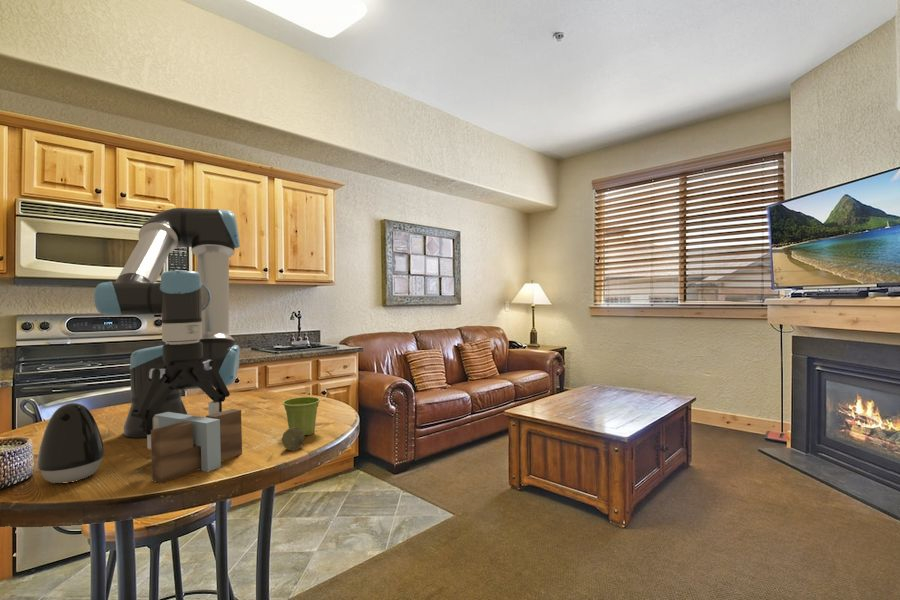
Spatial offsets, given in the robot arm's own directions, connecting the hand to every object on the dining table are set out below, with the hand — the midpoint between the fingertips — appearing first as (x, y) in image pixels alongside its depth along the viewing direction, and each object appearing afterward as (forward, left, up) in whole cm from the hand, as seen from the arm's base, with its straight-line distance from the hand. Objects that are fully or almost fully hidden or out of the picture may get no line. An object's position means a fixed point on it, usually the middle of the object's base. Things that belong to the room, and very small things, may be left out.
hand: (185, 439), depth 97 cm
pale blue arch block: (+1, 0, -5) cm, 5 cm away
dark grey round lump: (+15, +16, -5) cm, 23 cm away
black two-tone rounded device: (-13, -15, -5) cm, 21 cm away
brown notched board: (+5, 0, -5) cm, 7 cm away
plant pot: (+8, +26, -5) cm, 27 cm away
